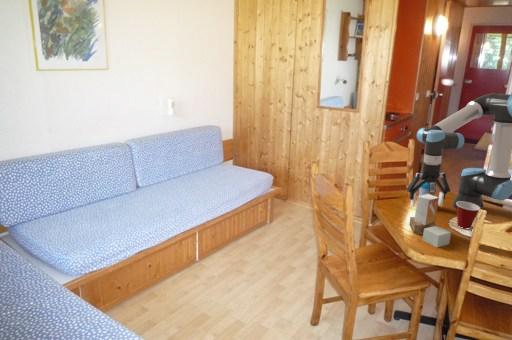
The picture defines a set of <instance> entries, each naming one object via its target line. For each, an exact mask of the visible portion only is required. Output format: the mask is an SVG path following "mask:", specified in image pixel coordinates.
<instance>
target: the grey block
mask: <svg viewBox="0 0 512 340" xmlns="http://www.w3.org/2000/svg"><path fill="white" fill-rule="evenodd" d="M451 235H452V232H451V231H449V230H447V229H445V228H443V227H441V226H438V225H436V226H433V227H429V228H425V229H424V233H423V234H422V241H423V242H425V243H427V244H429V245H431V246H432V247H433V246H434V247H435V248H439V247H443V246H447V245H450V242H451V241H450V240H451Z"/></svg>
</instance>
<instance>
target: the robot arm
mask: <svg viewBox="0 0 512 340" xmlns="http://www.w3.org/2000/svg"><path fill="white" fill-rule="evenodd" d="M481 117H492V118H493V120H492V122H493V123H494V124H495V131H494V136H493V143H492V149H491V155H490V160H489V167H488V169H487V170H486V169H485V168H482V167H481V168H480V167H468V168H463V170H462V171H461V175H460V180H459V188H458V193H457V194H456V197H455V199H454V200H453V203H452V207H454V208H455V209H457V204H456V202H459V201H465V202H470V203H473V204H475V205H478V206H479V207H480V209H483V210H484V203H483V201H484V200H483V197H482V196H485V197H488V198H490V199H492V200H496V201H505V200H507V199H509V198H510V197H511V196H512V180H511V179H512V178H511V177H512V174H510V172H509V171H510V170H509V168H510V164H511V163H510V162H511V158H512V94H507V93H506V94H505V93H496V92H494V93H493V92H492V93H488V94H484V95H482V96H479V97H477V98H475V99H473V100H471V101H469V102H468V103H467V104H466V106H465V107H463V108H461V109H460V110H458V111H456V112H454V113H453V114H450V115H449V116H448V117H446V118H444V119H442V120H441V121H439V122H437V123H436V124H434V125H432V126H430V127H421V128H419V129H418V131H417V132H416V139H417V141H418V142H420V143H422V144H424V145H425V150H424V154H423V155H424V156H423V163H422V171H421V173H419V172H415V174H414V177H413V179H412V180H411V181H410V184H408V186H407V188H406V191H407V193H409V200H410V206H411V207H412V208H414V207H416V206H415V205H416V198H417V193H416V192H417V191H418V190H419V188H420V187H421V186H422V185H423V184H425V183H426V182H427V183H430V182H431V183H434V182H435V183H436V187H438V189H439V190H440V191H439V193H438V194H439V195H438V197H439V201H438V206H439V207H443V203H444V202H443V201H444V200H445V199H446V195H447V194H448V193H451V189H450V186H449V184H448V183H449V182H448V181H447V174H446V173H445V172H440V171H441V164H442V159H443V158H442V157H443V152H444V151H449V150H457V149H460V148H462V147H463V146H464V143H465V138H464V137H465V136H464V135H463V134H462V133H461V132H460V133H459V132H455V131H457V130H458V129H459V128H462V127H463V126H464V125H466V124H468V123H469V122H471V121H473V120H476V119H480V118H481ZM439 178H441V179H440V180H441V182H442V184H443V185H442V184H441V182H440V180H439ZM423 180H424V181H423Z"/></svg>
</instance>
